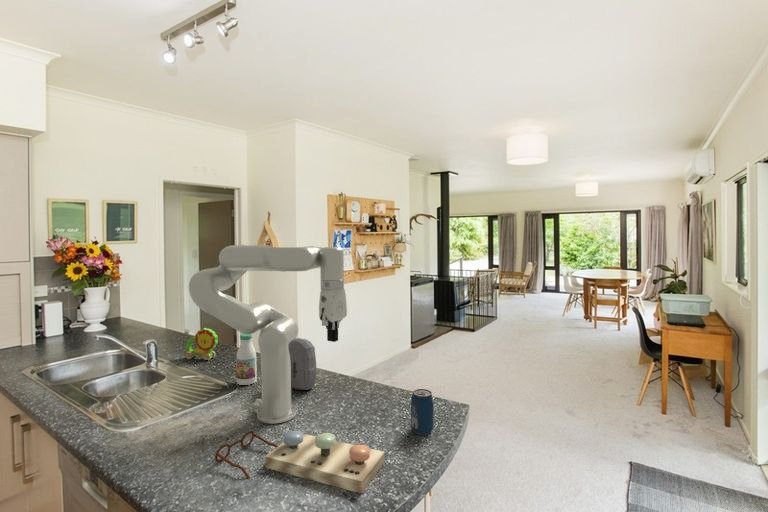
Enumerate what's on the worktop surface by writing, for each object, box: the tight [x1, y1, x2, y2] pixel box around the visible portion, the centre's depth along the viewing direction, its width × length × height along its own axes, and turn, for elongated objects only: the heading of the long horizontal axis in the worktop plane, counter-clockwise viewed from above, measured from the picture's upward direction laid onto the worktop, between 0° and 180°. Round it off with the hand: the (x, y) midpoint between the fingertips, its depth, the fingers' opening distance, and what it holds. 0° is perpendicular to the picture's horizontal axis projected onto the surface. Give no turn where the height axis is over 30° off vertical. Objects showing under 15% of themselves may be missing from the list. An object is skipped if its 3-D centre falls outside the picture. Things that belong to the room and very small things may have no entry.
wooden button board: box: [264, 433, 386, 494], centre depth 107 cm, size 28×14×4 cm, turn 68°
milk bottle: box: [236, 333, 258, 386], centre depth 165 cm, size 8×8×20 cm
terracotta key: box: [349, 444, 371, 462], centre depth 103 cm, size 5×5×2 cm
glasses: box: [214, 430, 279, 480], centre depth 109 cm, size 13×13×5 cm
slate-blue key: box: [283, 429, 304, 446], centre depth 110 cm, size 5×5×2 cm
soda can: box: [410, 388, 435, 436], centre depth 126 cm, size 7×7×12 cm
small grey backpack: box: [288, 337, 317, 391], centre depth 159 cm, size 15×8×20 cm, turn 58°
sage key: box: [315, 432, 336, 449], centre depth 107 cm, size 5×5×2 cm
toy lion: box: [184, 327, 219, 361], centre depth 197 cm, size 16×5×15 cm, turn 79°
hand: (332, 340), depth 132 cm, fingers closed
